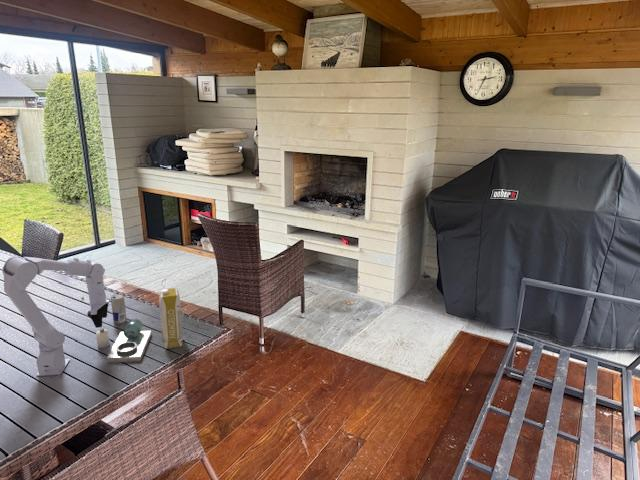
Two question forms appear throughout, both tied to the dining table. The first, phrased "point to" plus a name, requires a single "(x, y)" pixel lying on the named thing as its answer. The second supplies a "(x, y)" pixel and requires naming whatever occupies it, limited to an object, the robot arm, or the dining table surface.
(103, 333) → the cream capsule cylinder
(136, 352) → the motor mount
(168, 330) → the juice carton
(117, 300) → the energy drink
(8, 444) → the dining table surface
